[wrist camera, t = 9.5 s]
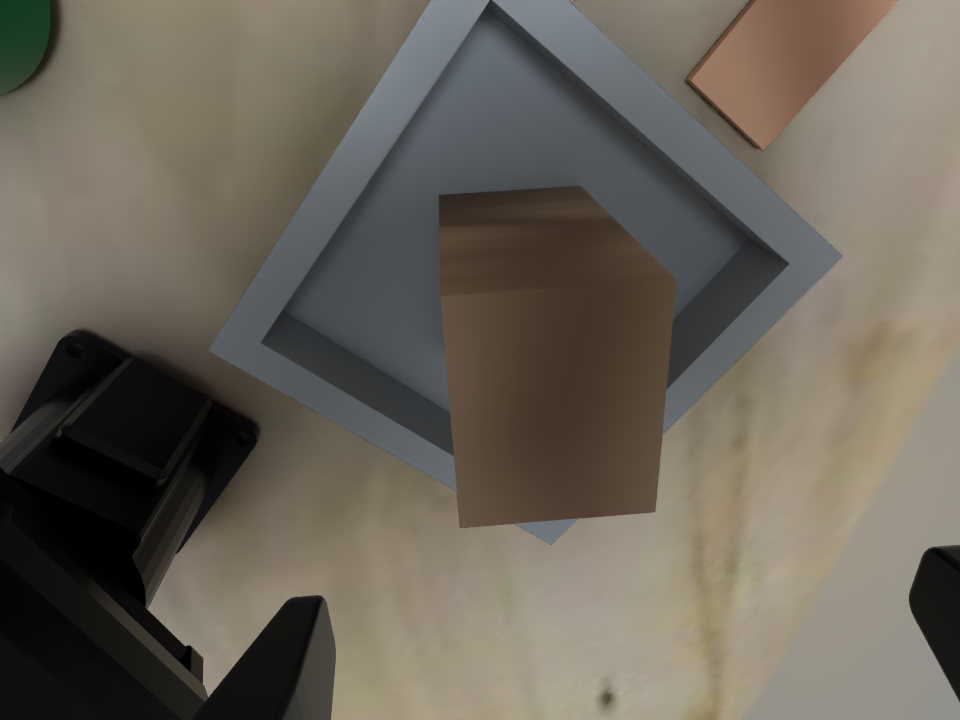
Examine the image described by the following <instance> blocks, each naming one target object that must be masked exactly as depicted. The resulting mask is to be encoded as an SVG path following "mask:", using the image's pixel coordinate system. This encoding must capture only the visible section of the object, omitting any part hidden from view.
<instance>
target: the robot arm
mask: <svg viewBox="0 0 960 720" xmlns="http://www.w3.org/2000/svg"><path fill="white" fill-rule="evenodd" d="M73 343H75V344H79V345H80V346H81V347H82V348H83V350H84V353H82V352H78V351H77V350H76V349H75V348H74V346H73ZM238 432H242V433H245V434H247V435H248V437H249V438H246V439H244V438H241V437H240V436H239V435H238V434H237V433H238ZM259 436H260V431H259V428H258V427H257V425H256V424H254V423H253V422H252V421H250V420H248V419H246V418H244V417H242V416H240V415H239V414H237V413H235V412H233V411H231V410H229V409H228V408H226V407H224V406H222V405H220V404H218V403H216V402H215V401H213V400H211V399H209V397H208V396H207V395H205V394H203V393H201V392H199V391H197V390H195V389H194V388H192V387H190V386H188V385H186V384H184V383H183V382H181V381H179V380H177V379H175V378H173V377H172V376H170V375H168V374H166V373H164V372H162V371H160V370H159V369H157V368H155V367H153V366H151V365H149V364H148V363H146V362H144V361H142V360H140V359H138V358H133V357H131V356H130V355H128V354H126V353H124V352H122V351H120V350H119V349H117V348H115V347H113V346H111V345H109V344H107V343H106V342H104V341H102V340H100V339H98V338H96V337H95V336H93V335H91V334H89V333H87V332H84V331H72V332H70V333H68V334H67V335H66V336H64V337H63V338H62V339H61V340H60V341H59V342H58V344H57V346H56V348H55V350H54V352H53V353H52V355H51V357H50V359H49V361H48V363H47V365H46V367H45V368H44V370H43V372H42V374H41V376H40V378H39V380H38V382H37V384H36V385H35V387H34V389H33V391H32V393H31V395H30V397H29V399H28V400H27V402H26V404H25V406H24V408H23V410H22V412H21V414H20V415H19V417H18V419H17V421H16V423H15V425H14V427H13V429H12V431H11V432H10V434H9V436H8V437H6V438H5V439H4V440H3V441H2V442H1V443H0V720H331V711H332V699H333V687H334V674H335V662H336V648H335V640H334V635H333V630H332V626H331V621H330V616H329V612H328V607H327V603H326V601H325V599H324V597H322V596H319V595H316V596H303V597H293V598H291V599H289V600H288V601H286V603H285V604H284V605H283V606H282V607H281V609H280V610H279V611H278V612H277V614H276V615H275V616H274V617H273V618H272V620H271V621H270V622H269V623H268V625H267V626H266V627H265V628H264V630H263V631H262V632H261V633H260V635H259V636H258V637H257V638H256V639H255V641H254V642H253V643H252V644H251V646H250V647H249V648H248V649H247V651H246V652H245V653H244V654H243V656H242V657H241V658H240V659H239V660H238V662H237V663H236V664H235V665H234V667H233V668H232V669H231V670H230V672H229V673H228V674H227V675H226V677H225V678H224V679H223V680H222V682H221V683H220V684H219V685H218V686H217V688H216V689H215V690H214V691H213V693H212V694H211V695H210V696H209V698H208V695H207V692H206V690H205V687H204V685H203V657H202V656H201V655H200V654H199V653H198V652H197V651H196V650H195V649H194V648H193V647H191V646H184V645H183V644H182V643H181V642H180V641H179V640H178V639H177V638H176V637H175V636H174V635H173V634H172V633H171V632H170V631H169V630H168V629H167V628H166V627H165V626H164V625H163V624H162V623H161V622H160V621H159V620H158V619H157V618H155V617H154V616H153V615H152V614H151V613H150V612H149V611H148V610H147V609H148V607H149V605H150V603H151V601H152V599H153V597H154V595H155V593H156V591H157V589H158V587H159V585H160V583H161V582H162V580H163V578H164V576H165V574H166V572H167V570H168V568H169V566H170V564H171V562H172V560H173V558H174V556H175V554H177V553H178V552H179V551H180V550H181V549H182V547H183V546H184V544H185V543H186V542H187V540H188V539H189V538H190V536H191V535H192V533H193V532H194V531H195V529H196V528H197V526H198V525H199V524H200V522H201V521H202V519H203V518H204V517H205V515H206V514H207V512H208V511H209V510H210V508H211V507H212V505H213V504H214V503H215V501H216V500H217V498H218V497H219V496H220V494H221V493H222V492H223V490H224V489H225V487H226V486H227V485H228V483H229V482H230V480H231V479H232V478H233V476H234V475H235V473H236V472H237V471H238V469H239V468H240V466H241V465H242V464H243V462H244V461H245V459H246V458H247V457H248V455H249V454H250V452H251V451H252V450H253V448H254V447H255V445H256V443H257V441H258V438H259ZM909 604H910V608H911V611H912V614H913V616H914V618H915V620H916V622H917V624H918V626H919V627H920V629H921V631H922V633H923V635H924V637H925V639H926V640H927V642H928V644H929V646H930V648H931V650H932V651H933V653H934V655H935V657H936V659H937V661H938V663H939V665H940V666H941V668H942V670H943V672H944V674H945V676H946V678H947V679H948V681H949V683H950V685H951V687H952V689H953V690H954V692H955V694H956V696H957V698H958V700H959V702H960V545H953V546H939V547H931V548H929V549H928V550H926V551H925V552H924V554H923V556H922V558H921V561H920V564H919V567H918V570H917V573H916V576H915V578H914V581H913V584H912V587H911V589H910V593H909Z"/></svg>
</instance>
